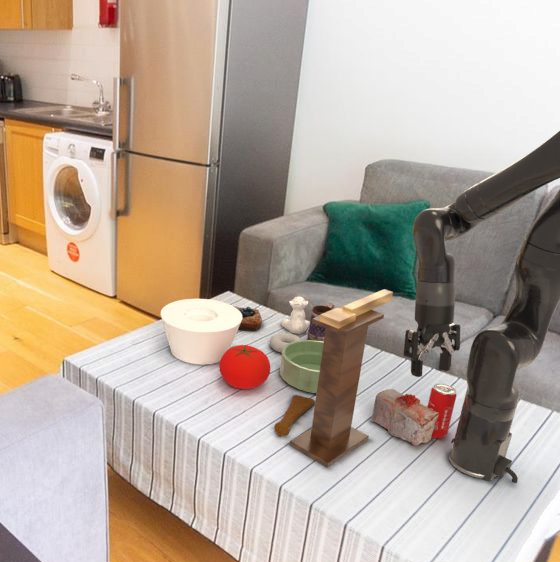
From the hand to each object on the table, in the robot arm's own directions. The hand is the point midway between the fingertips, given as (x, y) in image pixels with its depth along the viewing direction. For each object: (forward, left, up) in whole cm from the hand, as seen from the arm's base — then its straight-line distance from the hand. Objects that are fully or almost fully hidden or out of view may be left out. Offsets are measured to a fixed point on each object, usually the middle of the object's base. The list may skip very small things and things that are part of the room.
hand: (430, 373), depth 129 cm
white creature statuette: (+54, -26, -18) cm, 63 cm away
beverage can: (-1, -6, -18) cm, 19 cm away
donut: (+48, -13, -18) cm, 53 cm away
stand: (+12, +17, -18) cm, 27 cm away
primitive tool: (+24, +15, -18) cm, 33 cm away
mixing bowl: (+32, -5, -18) cm, 37 cm away
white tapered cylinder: (+63, +9, -18) cm, 66 cm away
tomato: (+42, +13, -18) cm, 47 cm away
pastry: (+68, -16, -18) cm, 72 cm away
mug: (+44, -25, -18) cm, 54 cm away
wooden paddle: (+12, +13, +14) cm, 22 cm away
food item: (+4, 0, -18) cm, 19 cm away
